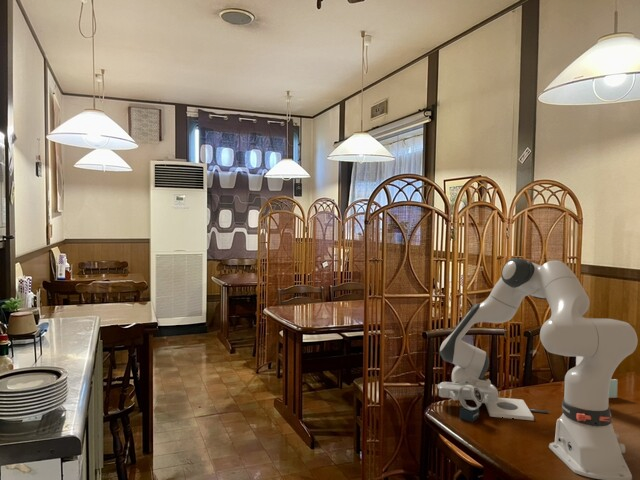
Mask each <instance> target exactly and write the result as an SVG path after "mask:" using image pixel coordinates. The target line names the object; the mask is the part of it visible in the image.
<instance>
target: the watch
mask: <svg viewBox="0 0 640 480" xmlns="http://www.w3.org/2000/svg"><path fill="white" fill-rule="evenodd" d="M464 387H467V388H470V389H469V390H470V391H471V396H472V398H473V400H472V401H474V402H475V404H476V406H472V405H469V404H467V402H466V399H464V397H463V394H462V389H463V388H464ZM458 398H459V399H458V401H459V403H460V405H461V406H462V408H461V407H460V409H459V419H460V420H463V421H467V422H470V423H473V422H474V421H476V420H477V419H479V418H480V407H481V406H482V404H483V403H482V400H483V397H482V394H481V392H480V390H479V389H478V388H476V387H475V386H472V385H465V386H463V387H461V388H460V389H459V391H458Z"/></svg>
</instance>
